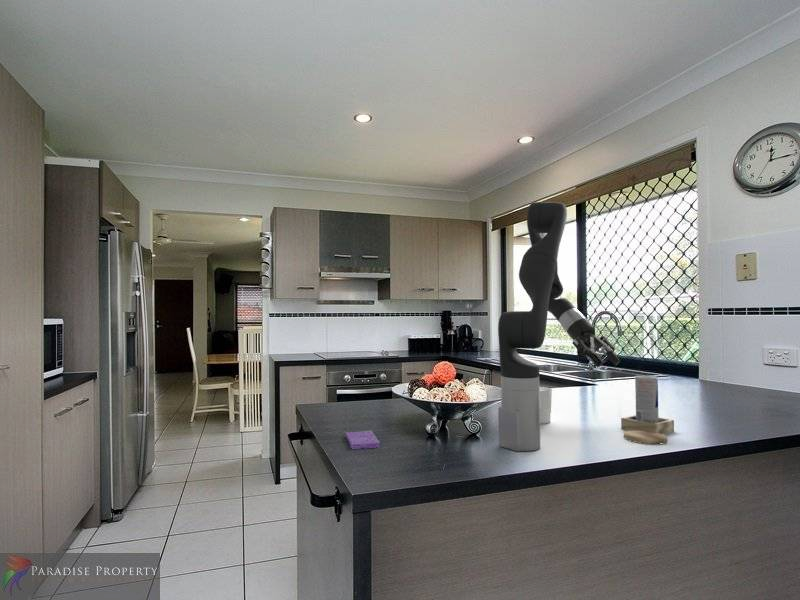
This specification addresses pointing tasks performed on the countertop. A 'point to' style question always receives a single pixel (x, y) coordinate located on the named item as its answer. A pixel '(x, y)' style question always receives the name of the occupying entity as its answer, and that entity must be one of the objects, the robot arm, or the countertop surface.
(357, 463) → the countertop surface
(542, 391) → the white cup
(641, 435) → the disc
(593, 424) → the countertop surface
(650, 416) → the beverage can
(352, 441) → the sponges
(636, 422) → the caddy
